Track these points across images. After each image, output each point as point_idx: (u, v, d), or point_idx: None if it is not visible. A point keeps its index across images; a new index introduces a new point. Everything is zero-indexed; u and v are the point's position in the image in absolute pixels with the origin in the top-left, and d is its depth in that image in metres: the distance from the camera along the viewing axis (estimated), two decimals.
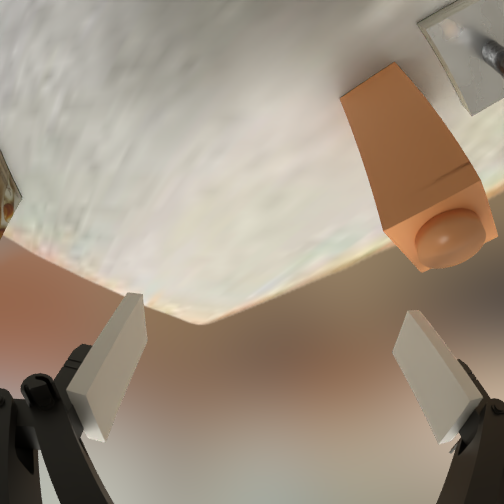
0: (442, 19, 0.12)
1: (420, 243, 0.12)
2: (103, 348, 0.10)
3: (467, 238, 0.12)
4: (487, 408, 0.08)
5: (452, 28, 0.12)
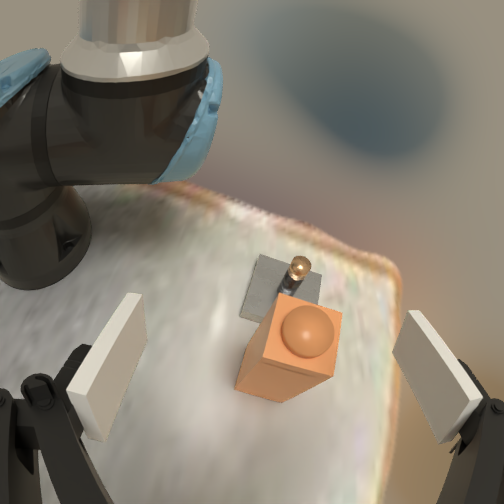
0: (246, 299, 0.34)
1: (287, 342, 0.20)
2: (103, 348, 0.10)
3: (309, 318, 0.21)
4: (487, 408, 0.08)
5: (254, 298, 0.34)
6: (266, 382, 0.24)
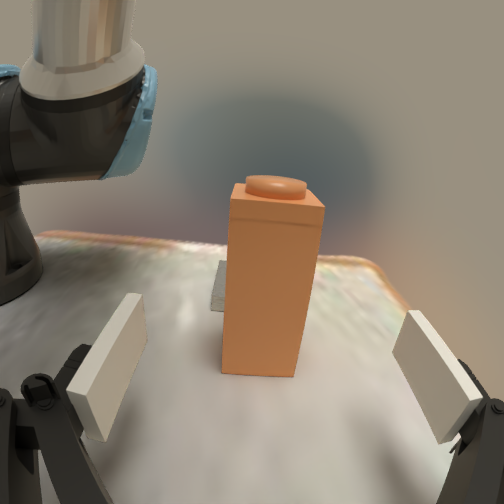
0: (213, 288, 0.29)
1: (255, 185, 0.17)
2: (103, 348, 0.10)
3: (272, 177, 0.19)
4: (487, 408, 0.08)
5: (222, 287, 0.29)
6: (255, 299, 0.18)
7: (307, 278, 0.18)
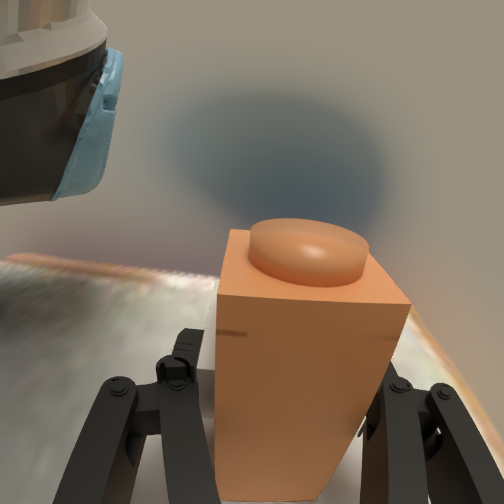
0: None
1: (270, 255, 0.08)
2: None
3: (300, 226, 0.10)
4: (385, 389, 0.09)
5: None
6: (265, 440, 0.09)
7: (357, 412, 0.09)
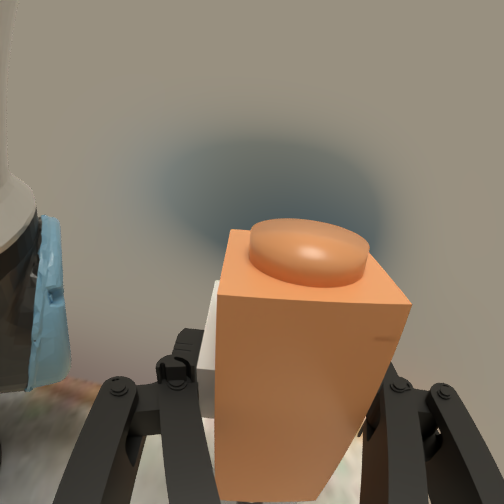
0: None
1: (270, 255, 0.08)
2: None
3: (301, 226, 0.10)
4: (385, 389, 0.09)
5: None
6: (265, 441, 0.09)
7: (357, 412, 0.09)
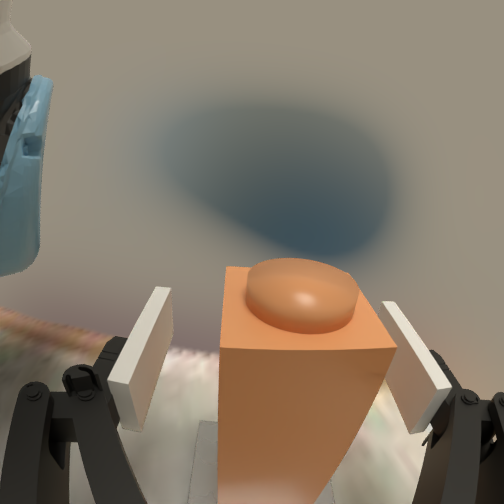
0: None
1: (267, 306, 0.09)
2: (140, 339, 0.11)
3: (294, 269, 0.11)
4: (457, 400, 0.08)
5: (203, 502, 0.12)
6: (264, 461, 0.10)
7: (347, 435, 0.10)
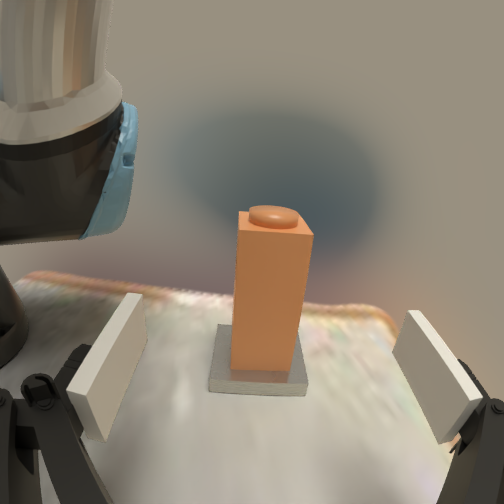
0: (211, 367, 0.25)
1: (257, 217, 0.22)
2: (103, 348, 0.10)
3: (270, 208, 0.24)
4: (487, 408, 0.08)
5: (221, 365, 0.25)
6: (258, 308, 0.23)
7: (300, 290, 0.22)
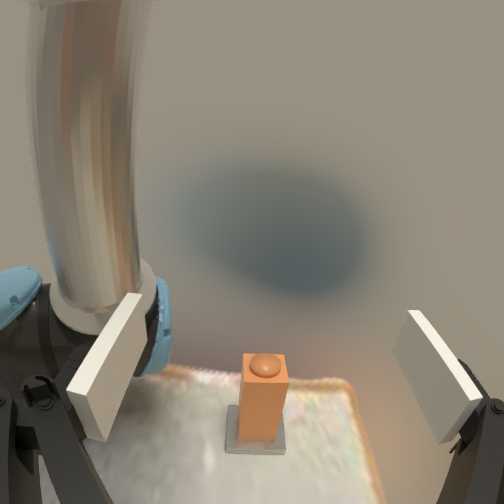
0: (226, 439, 0.37)
1: (255, 371, 0.33)
2: (103, 348, 0.10)
3: (263, 358, 0.35)
4: (487, 408, 0.08)
5: (232, 437, 0.37)
6: (255, 414, 0.35)
7: (280, 406, 0.34)
